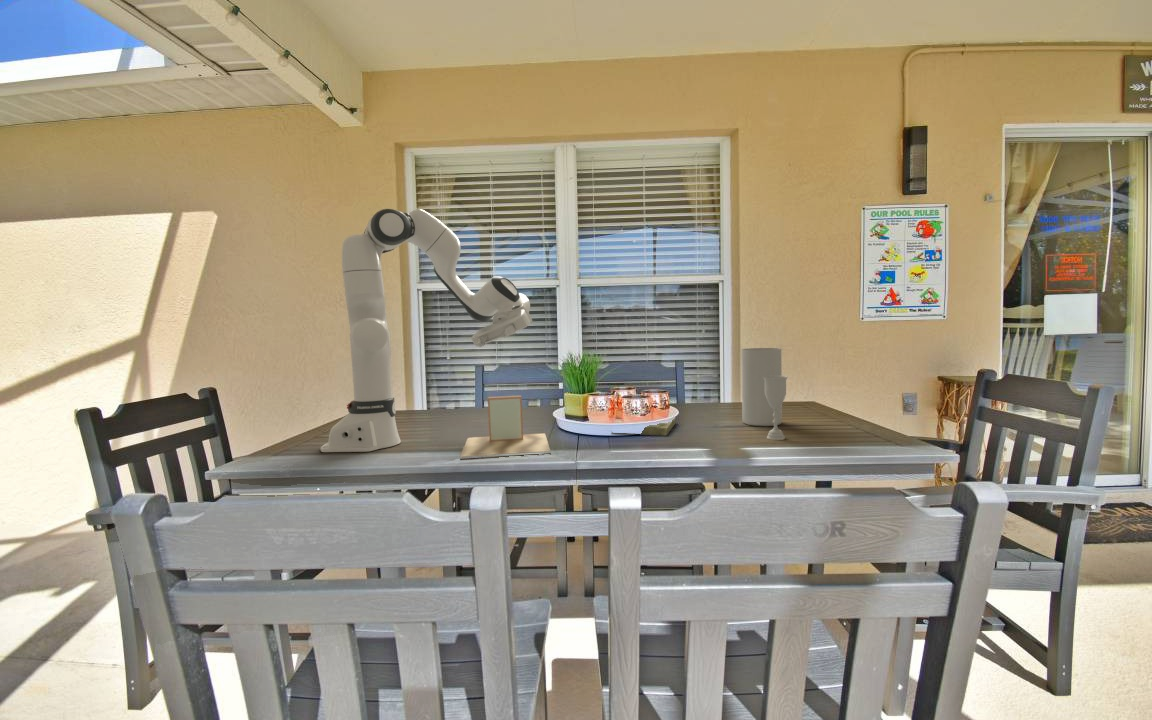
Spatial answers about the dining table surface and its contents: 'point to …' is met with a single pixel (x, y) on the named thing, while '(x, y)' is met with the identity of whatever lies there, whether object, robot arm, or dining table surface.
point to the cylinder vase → (759, 385)
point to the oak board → (504, 446)
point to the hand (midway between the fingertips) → (492, 339)
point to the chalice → (775, 400)
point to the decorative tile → (658, 428)
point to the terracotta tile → (505, 418)
